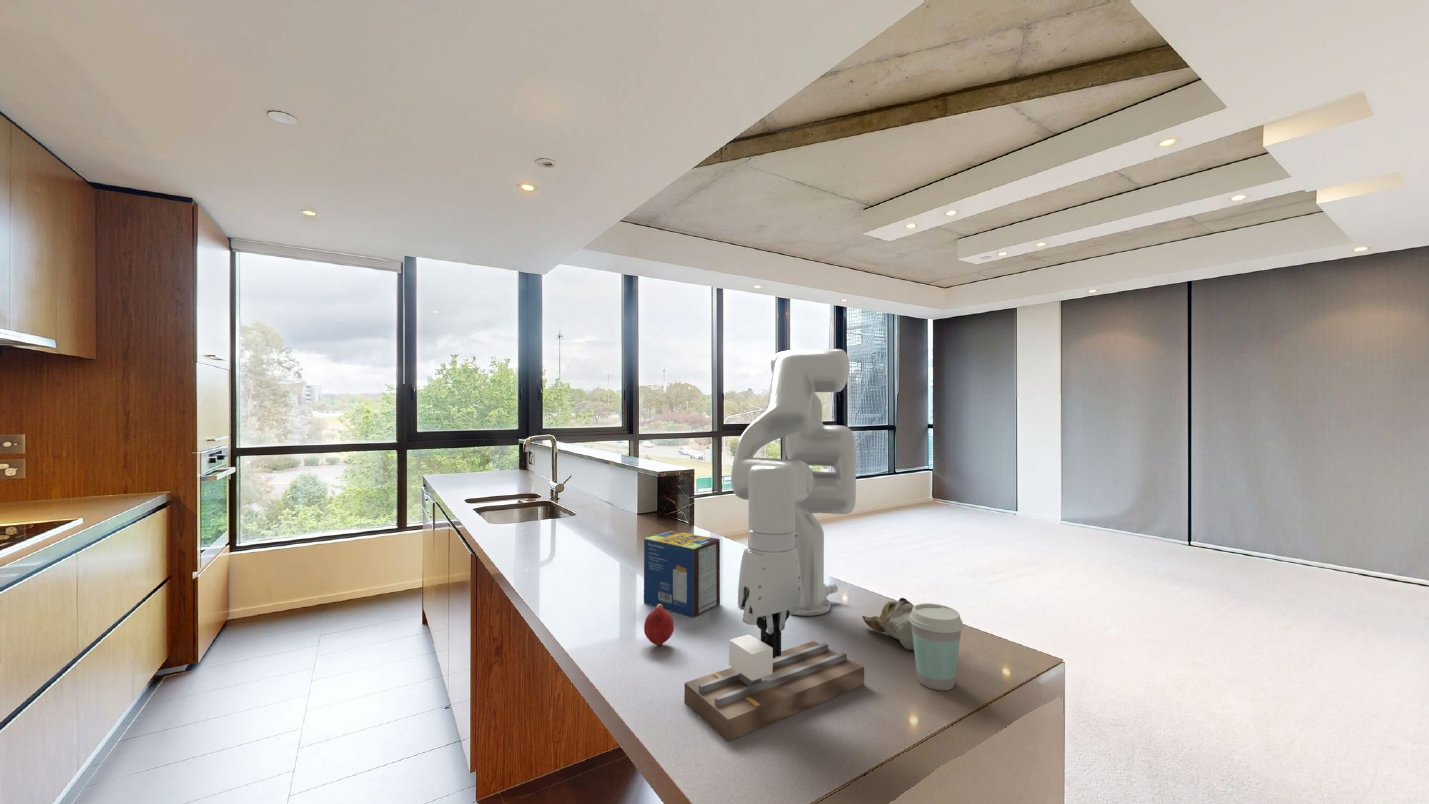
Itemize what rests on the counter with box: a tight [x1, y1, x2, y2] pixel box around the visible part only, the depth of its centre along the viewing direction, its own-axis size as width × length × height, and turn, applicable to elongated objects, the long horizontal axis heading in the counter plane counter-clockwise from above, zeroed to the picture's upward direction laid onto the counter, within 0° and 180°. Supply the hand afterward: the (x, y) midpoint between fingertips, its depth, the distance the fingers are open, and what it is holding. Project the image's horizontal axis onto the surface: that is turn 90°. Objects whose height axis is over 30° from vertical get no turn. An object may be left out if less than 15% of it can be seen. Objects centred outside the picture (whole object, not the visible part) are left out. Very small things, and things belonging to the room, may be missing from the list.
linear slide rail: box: [683, 640, 865, 742], centre depth 88 cm, size 28×12×4 cm, turn 124°
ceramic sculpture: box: [862, 597, 915, 651], centre depth 109 cm, size 11×9×15 cm
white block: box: [728, 634, 773, 686], centre depth 85 cm, size 4×6×6 cm, turn 34°
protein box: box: [643, 530, 721, 619], centre depth 128 cm, size 10×15×16 cm
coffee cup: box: [909, 602, 964, 691], centre depth 92 cm, size 8×9×12 cm
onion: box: [643, 604, 675, 647], centre depth 105 cm, size 6×6×8 cm
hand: (770, 654), depth 87 cm, fingers closed
